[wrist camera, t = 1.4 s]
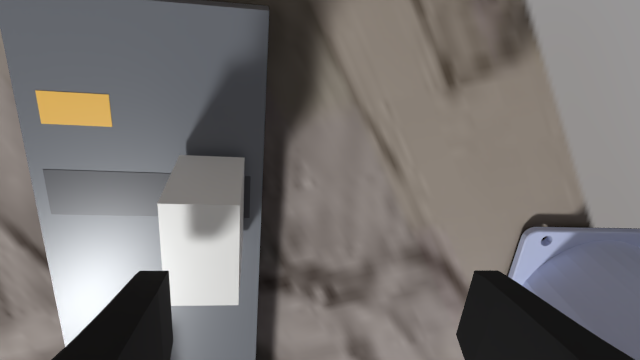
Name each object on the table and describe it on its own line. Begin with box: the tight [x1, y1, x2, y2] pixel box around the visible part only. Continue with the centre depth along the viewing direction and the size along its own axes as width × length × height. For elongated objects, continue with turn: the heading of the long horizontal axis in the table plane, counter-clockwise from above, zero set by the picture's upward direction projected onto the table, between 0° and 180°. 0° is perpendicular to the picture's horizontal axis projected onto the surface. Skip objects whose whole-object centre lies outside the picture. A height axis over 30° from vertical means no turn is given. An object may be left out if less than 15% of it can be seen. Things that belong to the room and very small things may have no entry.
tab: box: [157, 155, 245, 306], centre depth 13 cm, size 2×3×3 cm, turn 175°
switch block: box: [0, 0, 269, 360], centre depth 17 cm, size 7×22×2 cm, turn 175°
